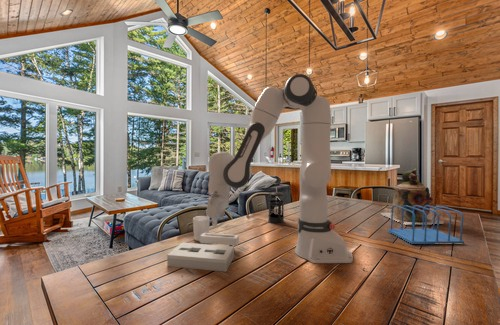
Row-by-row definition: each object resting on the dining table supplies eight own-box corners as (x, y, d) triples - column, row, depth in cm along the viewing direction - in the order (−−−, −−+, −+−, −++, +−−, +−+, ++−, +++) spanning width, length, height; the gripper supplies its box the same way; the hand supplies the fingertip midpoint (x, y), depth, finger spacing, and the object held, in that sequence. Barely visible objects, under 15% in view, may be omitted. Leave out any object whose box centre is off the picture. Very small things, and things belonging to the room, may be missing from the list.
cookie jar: (379, 215, 161) (380, 167, 160) (413, 214, 164) (415, 167, 162) (406, 226, 137) (409, 170, 135) (446, 225, 140) (449, 170, 138)
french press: (287, 223, 142) (288, 183, 141) (272, 224, 139) (273, 184, 138) (278, 217, 153) (278, 181, 152) (264, 219, 150) (265, 181, 149)
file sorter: (412, 245, 110) (413, 212, 109) (388, 232, 127) (389, 203, 126) (464, 245, 111) (466, 211, 110) (433, 232, 128) (434, 203, 128)
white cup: (206, 242, 111) (206, 220, 111) (190, 240, 113) (190, 219, 112) (212, 236, 119) (212, 216, 119) (197, 235, 121) (197, 215, 120)
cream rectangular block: (238, 248, 105) (238, 234, 104) (236, 252, 101) (236, 238, 100) (203, 245, 107) (203, 232, 107) (200, 249, 103) (199, 235, 103)
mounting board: (234, 256, 96) (234, 246, 96) (226, 271, 85) (226, 259, 84) (182, 252, 100) (182, 242, 100) (167, 266, 88) (167, 254, 88)
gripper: (219, 194, 92) (218, 230, 93) (232, 186, 112) (231, 216, 113) (203, 193, 93) (202, 229, 94) (218, 186, 113) (218, 215, 114)
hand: (218, 222), depth 104 cm, fingers open, 8 cm apart
